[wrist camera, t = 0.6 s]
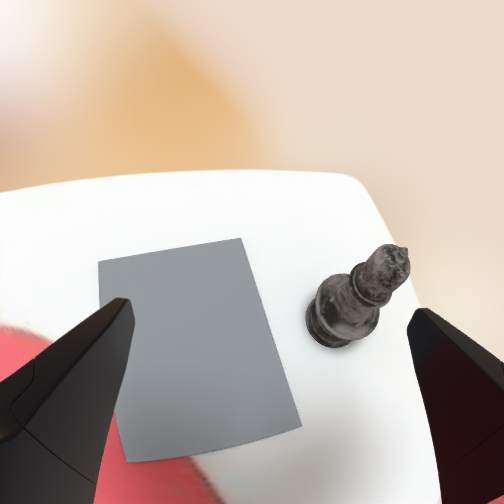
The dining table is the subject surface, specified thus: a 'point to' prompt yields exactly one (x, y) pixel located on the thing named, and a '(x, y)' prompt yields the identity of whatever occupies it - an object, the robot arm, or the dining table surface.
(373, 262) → the dark grey chess piece
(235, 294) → the mat
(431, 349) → the robot arm
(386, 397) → the dining table surface
